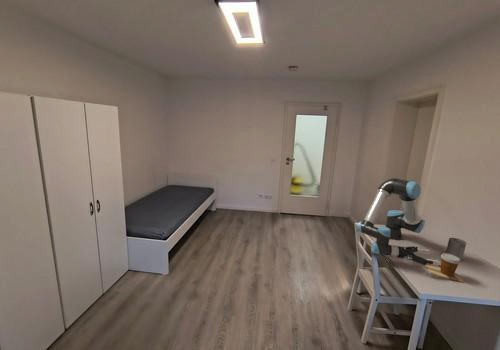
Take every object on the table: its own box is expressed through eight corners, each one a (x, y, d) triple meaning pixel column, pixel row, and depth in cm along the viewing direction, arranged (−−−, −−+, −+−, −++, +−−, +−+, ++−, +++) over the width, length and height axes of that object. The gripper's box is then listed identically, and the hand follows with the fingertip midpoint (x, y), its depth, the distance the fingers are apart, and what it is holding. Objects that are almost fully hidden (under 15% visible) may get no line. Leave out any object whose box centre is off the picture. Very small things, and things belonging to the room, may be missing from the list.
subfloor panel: (422, 262, 161) (422, 261, 161) (449, 267, 157) (449, 266, 156) (433, 277, 145) (433, 276, 145) (464, 283, 141) (464, 281, 140)
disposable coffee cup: (434, 267, 154) (438, 251, 151) (450, 270, 152) (454, 254, 149) (442, 276, 145) (446, 259, 142) (460, 279, 143) (464, 262, 140)
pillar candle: (444, 252, 176) (448, 234, 173) (461, 256, 171) (465, 238, 168) (445, 258, 169) (450, 239, 166) (463, 262, 163) (468, 243, 160)
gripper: (390, 247, 170) (423, 253, 164) (402, 266, 146) (441, 273, 140) (392, 238, 168) (426, 243, 162) (404, 255, 145) (444, 262, 139)
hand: (433, 257), depth 151 cm, fingers open, 13 cm apart
